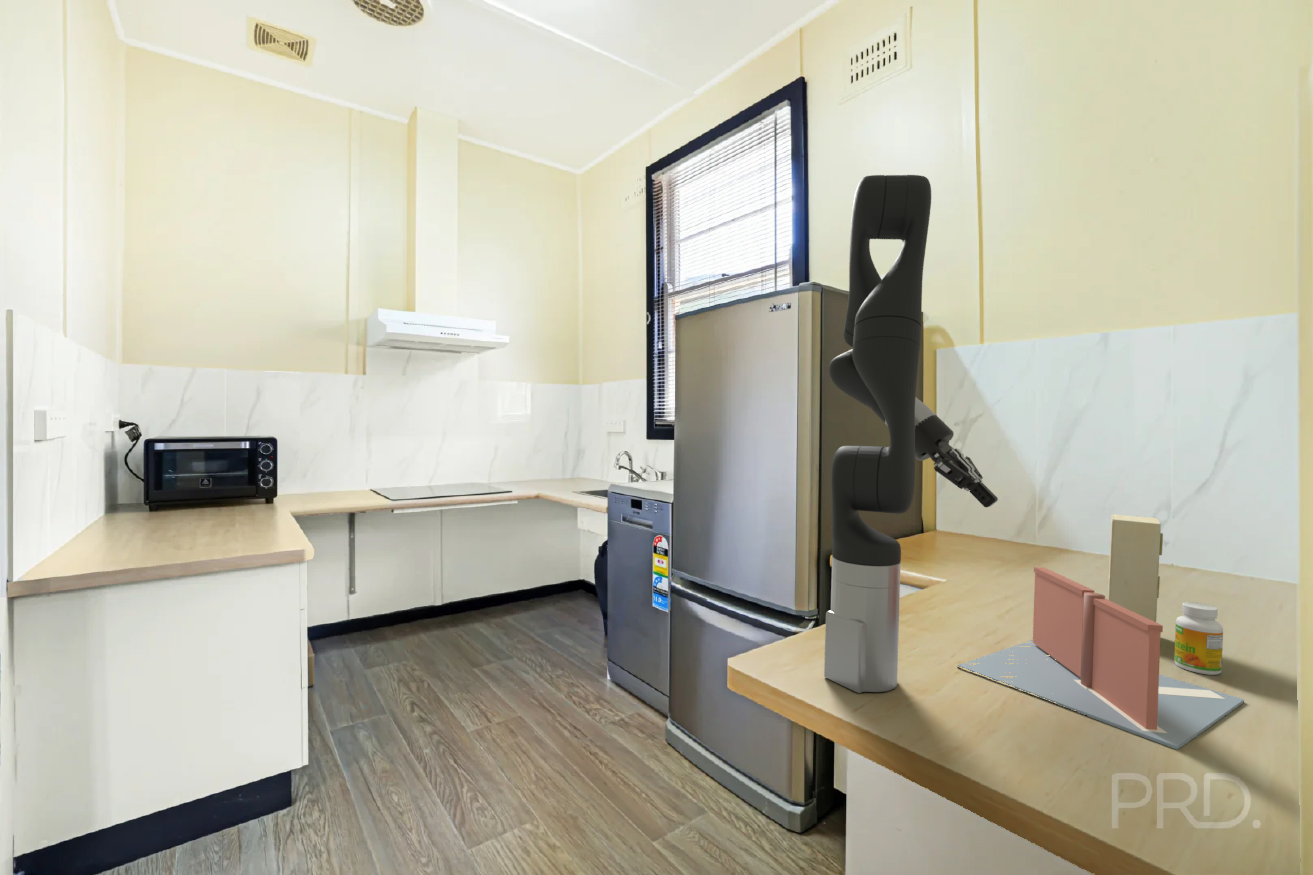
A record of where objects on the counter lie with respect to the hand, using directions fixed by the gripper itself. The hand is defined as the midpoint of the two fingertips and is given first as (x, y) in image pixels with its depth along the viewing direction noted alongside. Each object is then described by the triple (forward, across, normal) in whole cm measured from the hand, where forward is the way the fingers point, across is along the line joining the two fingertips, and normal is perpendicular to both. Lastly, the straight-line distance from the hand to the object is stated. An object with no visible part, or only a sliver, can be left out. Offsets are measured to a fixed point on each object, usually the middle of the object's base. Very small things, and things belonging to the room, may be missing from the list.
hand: (992, 503), depth 98 cm
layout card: (+27, -5, +6) cm, 28 cm away
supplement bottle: (+35, +14, -1) cm, 38 cm away
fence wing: (+23, 0, +9) cm, 25 cm away
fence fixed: (+29, -11, +4) cm, 32 cm away
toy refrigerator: (+29, +25, +5) cm, 39 cm away
